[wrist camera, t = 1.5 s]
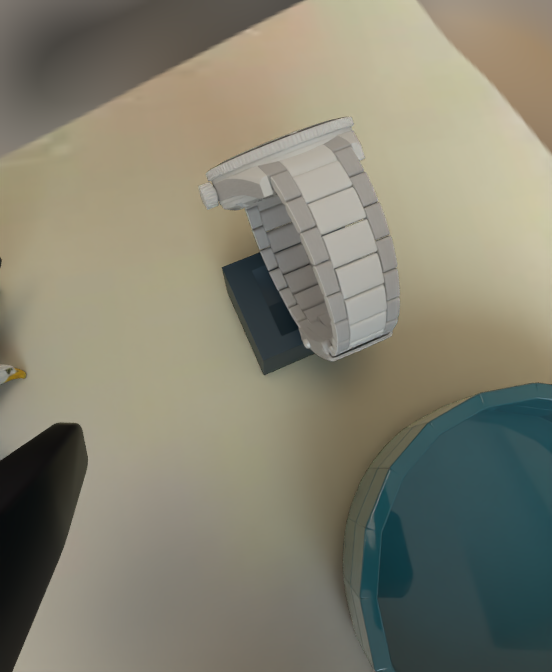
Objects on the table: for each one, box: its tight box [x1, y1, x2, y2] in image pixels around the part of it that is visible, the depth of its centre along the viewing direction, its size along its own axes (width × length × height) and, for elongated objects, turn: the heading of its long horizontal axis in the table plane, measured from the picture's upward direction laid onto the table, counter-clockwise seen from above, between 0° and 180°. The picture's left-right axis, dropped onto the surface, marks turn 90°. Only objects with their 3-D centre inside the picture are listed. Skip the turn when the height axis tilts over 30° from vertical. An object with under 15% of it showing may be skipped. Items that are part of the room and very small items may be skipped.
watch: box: [198, 117, 400, 375], centre depth 19 cm, size 6×8×11 cm
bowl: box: [343, 383, 552, 672], centre depth 19 cm, size 14×14×4 cm
